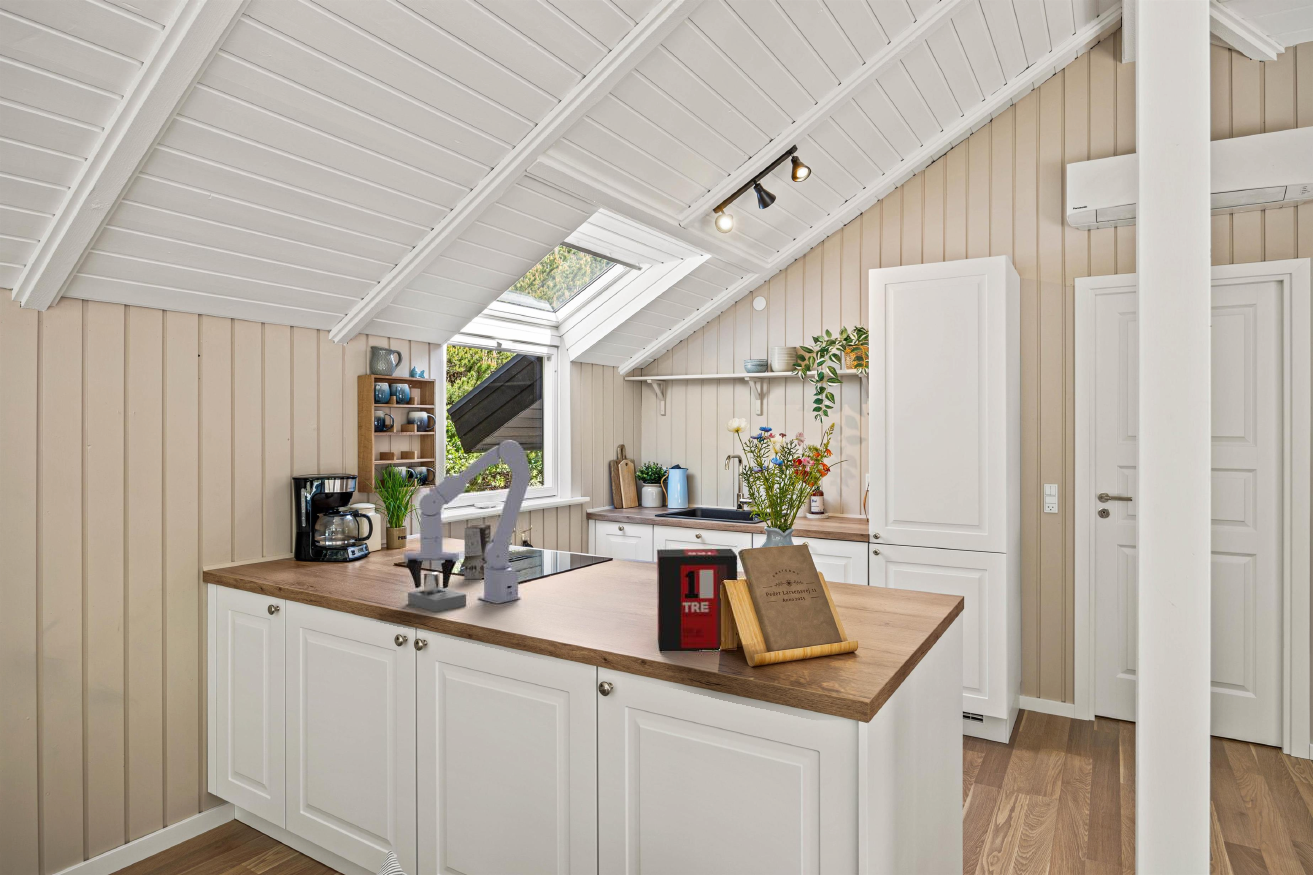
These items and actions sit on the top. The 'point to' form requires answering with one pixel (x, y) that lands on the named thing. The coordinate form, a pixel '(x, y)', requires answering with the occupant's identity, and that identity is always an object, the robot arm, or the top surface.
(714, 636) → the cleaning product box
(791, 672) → the top surface
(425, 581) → the peg
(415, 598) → the socket block
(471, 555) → the coffee box
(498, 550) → the robot arm
